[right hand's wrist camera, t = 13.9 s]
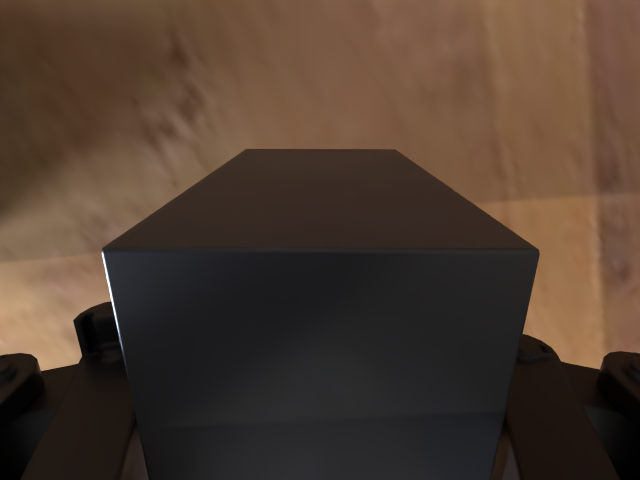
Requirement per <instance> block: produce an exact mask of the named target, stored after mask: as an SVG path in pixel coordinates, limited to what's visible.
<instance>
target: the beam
mask: <svg viewBox="0 0 640 480" xmlns="http://www.w3.org/2000/svg"><path fill="white" fill-rule="evenodd" d="M539 255H540V254H539V250H538V249H537V248H536V247H534V246H533V245H531V244H530V243H529V242H527V241H526V240H524V239H523V238H521V237H520V236H518V235H517V234H516V233H514V232H513V231H511V230H510V229H508V228H507V227H506V226H504V225H503V224H501V223H500V222H498V221H497V220H496V219H494V218H493V217H491V216H490V215H488V214H487V213H486V212H484V211H483V210H481V209H480V208H478V207H477V206H476V205H474V204H473V203H471V202H470V201H468V200H467V199H465V198H464V197H463V196H461V195H460V194H458V193H457V192H455V191H454V190H453V189H451V188H450V187H448V186H447V185H445V184H444V183H443V182H441V181H440V180H438V179H437V178H435V177H434V176H433V175H431V174H430V173H428V172H427V171H425V170H424V169H422V168H421V167H420V166H418V165H417V164H415V163H414V162H412V161H411V160H410V159H408V158H407V157H405V156H404V155H402V154H401V153H400V152H398V151H397V150H387V149H246V150H244V151H243V152H241V153H240V154H238V155H237V156H236V157H234V158H233V159H231V160H230V161H228V162H227V163H225V164H224V165H222V166H221V167H220V168H218V169H217V170H215V171H214V172H212V173H211V174H209V175H208V176H206V177H205V178H204V179H202V180H201V181H199V182H198V183H196V184H195V185H193V186H192V187H190V188H189V189H188V190H186V191H185V192H183V193H182V194H180V195H179V196H177V197H176V198H175V199H173V200H172V201H170V202H169V203H167V204H166V205H164V206H163V207H161V208H160V209H159V210H157V211H156V212H154V213H153V214H151V215H150V216H148V217H147V218H145V219H144V220H143V221H141V222H140V223H138V224H137V225H135V226H134V227H132V228H131V229H129V230H128V231H127V232H125V233H124V234H122V235H121V236H119V237H118V238H116V239H115V240H113V241H112V242H111V243H109V244H108V245H106V246H105V247H103V248H102V257H103V262H104V267H105V272H106V277H107V281H108V286H109V291H110V296H111V301H112V305H113V310H114V315H115V320H116V325H117V329H118V334H119V339H120V344H121V349H122V353H123V358H124V363H125V368H126V373H127V377H128V382H129V387H130V392H131V397H132V401H133V406H134V411H135V416H136V421H137V425H138V430H139V435H140V440H141V445H142V449H143V454H144V459H145V464H146V469H147V473H148V478H149V480H491V477H492V473H493V468H494V463H495V459H496V454H497V449H498V445H499V440H500V435H501V431H502V426H503V422H504V417H505V412H506V408H507V403H508V398H509V394H510V389H511V384H512V380H513V375H514V371H515V366H516V361H517V357H518V352H519V347H520V343H521V338H522V333H523V329H524V324H525V320H526V315H527V310H528V306H529V301H530V296H531V292H532V287H533V282H534V278H535V273H536V269H537V264H538V259H539Z"/></svg>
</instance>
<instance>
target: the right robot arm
mask: <svg viewBox="0 0 640 480" xmlns="http://www.w3.org/2000/svg"><path fill="white" fill-rule="evenodd" d="M73 321H74V325H75V329H76V333H77V337H78V341H79V345H80V348H81V352H82V358H81V360H80V361H79V363H78V364H75V365H71V366H65V367H60V368H55V369H50V370H45V371H41V370H40V367H39V364H38V360H37V358H35V357H34V356H32V355H31V354H24V353H16V354H6V355H1V356H0V480H149V478H148V473H147V469H146V464H145V459H144V454H143V449H142V445H141V440H140V435H139V430H138V425H137V421H136V416H135V411H134V406H133V401H132V397H131V392H130V387H129V382H128V377H127V373H126V368H125V363H124V358H123V353H122V349H121V344H120V339H119V334H118V329H117V325H116V320H115V315H114V310H113V305H112V301H111V302H105V303H102V304H99V305H96V306H94V307H91V308H89V309H87V310H86V311H84V312H82V313H80V314H79V315H78V316H77V317H76V318H75V319H74V320H73ZM491 480H640V354H639V353H631V352H622V351H619V352H612V353H609V354H607V355H606V356H605V357H604V359H603V362H602V365H601V368H600V370H599V369H594V368H589V367H584V366H579V365H574V364H569V363H565V362H561V361H560V359H559V357H558V355H557V354H556V353H555V351H554V350H553V349H552V348H551V347H550V346H548V345H547V344H545V343H544V342H542V341H541V340H538V339H536V338H533V337H531V336H529V335H524V334H522V338H521V343H520V347H519V352H518V357H517V361H516V366H515V371H514V375H513V380H512V384H511V389H510V394H509V398H508V403H507V408H506V412H505V417H504V422H503V426H502V431H501V435H500V440H499V445H498V449H497V454H496V459H495V463H494V468H493V473H492V477H491Z"/></svg>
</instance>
